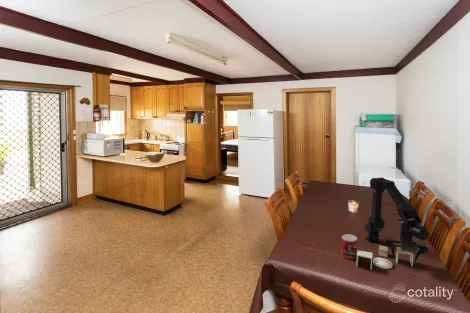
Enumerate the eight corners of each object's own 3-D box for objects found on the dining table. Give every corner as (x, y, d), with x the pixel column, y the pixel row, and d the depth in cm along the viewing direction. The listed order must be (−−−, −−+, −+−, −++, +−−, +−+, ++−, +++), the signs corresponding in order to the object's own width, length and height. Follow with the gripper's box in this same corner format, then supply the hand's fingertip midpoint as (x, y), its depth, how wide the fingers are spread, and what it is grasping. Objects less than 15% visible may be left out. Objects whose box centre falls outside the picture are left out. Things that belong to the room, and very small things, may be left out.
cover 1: (356, 261, 140) (357, 249, 139) (371, 264, 137) (372, 252, 136) (356, 266, 135) (356, 254, 134) (371, 270, 132) (372, 258, 131)
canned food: (341, 258, 143) (342, 239, 142) (341, 251, 151) (341, 233, 149) (356, 261, 140) (357, 241, 139) (356, 253, 148) (356, 235, 146)
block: (378, 252, 149) (379, 245, 148) (387, 253, 147) (387, 247, 146) (378, 255, 145) (379, 248, 145) (387, 257, 143) (387, 250, 143)
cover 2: (395, 258, 142) (396, 246, 141) (411, 261, 139) (412, 249, 138) (396, 263, 138) (397, 251, 137) (412, 266, 134) (413, 254, 133)
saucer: (368, 260, 141) (369, 258, 140) (383, 258, 142) (383, 256, 142) (381, 270, 132) (381, 268, 132) (396, 267, 134) (397, 265, 133)
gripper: (386, 234, 133) (384, 263, 135) (431, 241, 124) (428, 272, 127) (385, 225, 143) (383, 252, 145) (427, 232, 134) (424, 260, 136)
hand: (404, 259), depth 138 cm, fingers open, 9 cm apart
